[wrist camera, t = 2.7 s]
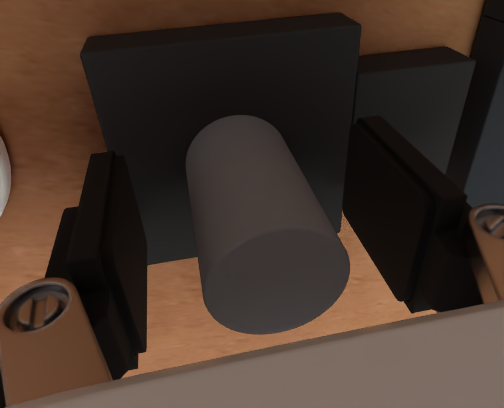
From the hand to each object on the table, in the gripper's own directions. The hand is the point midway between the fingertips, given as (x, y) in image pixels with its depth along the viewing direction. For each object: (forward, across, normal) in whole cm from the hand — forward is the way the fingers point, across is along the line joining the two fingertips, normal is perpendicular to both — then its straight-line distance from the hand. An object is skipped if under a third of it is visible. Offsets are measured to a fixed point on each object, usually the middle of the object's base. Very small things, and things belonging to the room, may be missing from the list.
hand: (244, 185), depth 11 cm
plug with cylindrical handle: (+3, -2, 0) cm, 3 cm away
